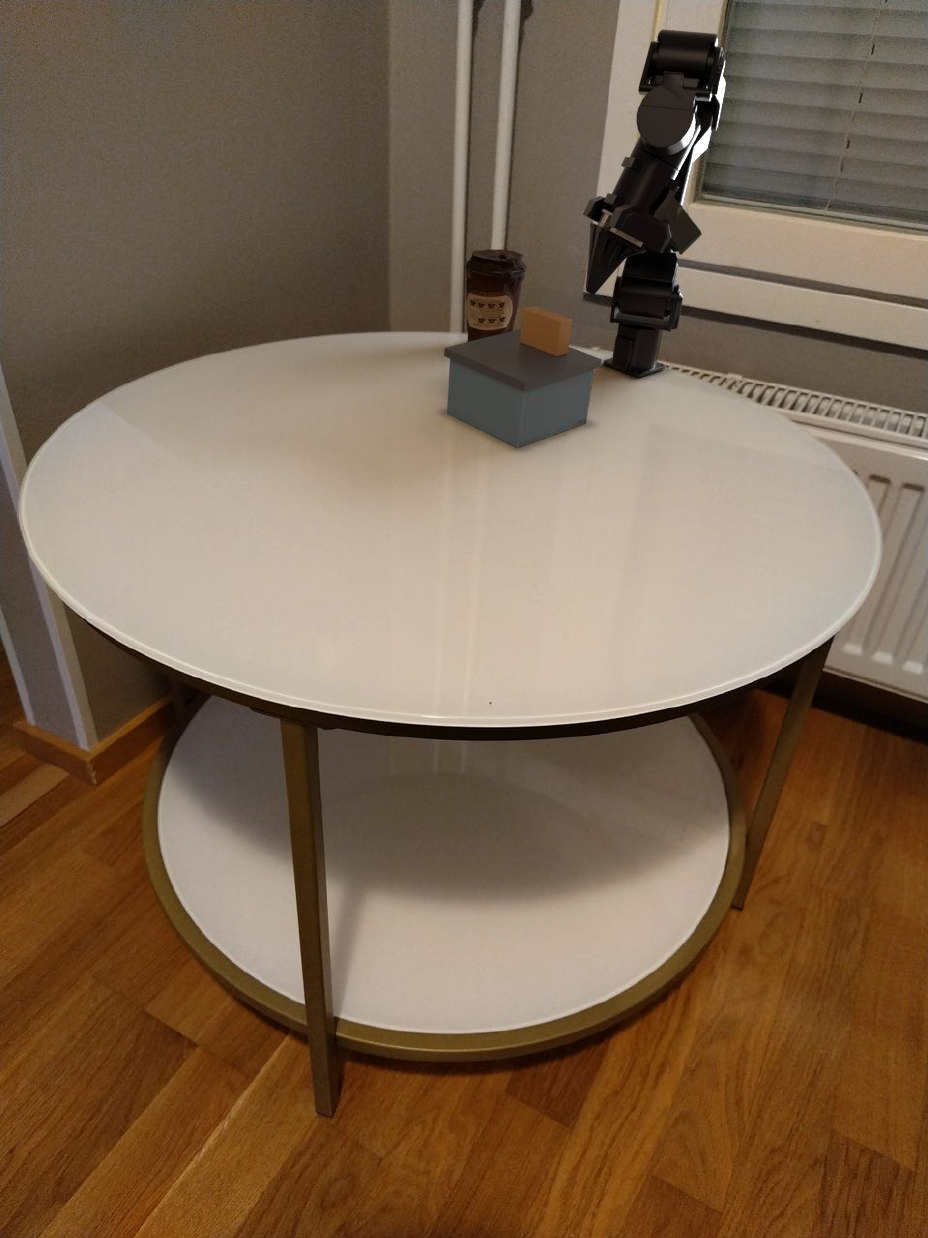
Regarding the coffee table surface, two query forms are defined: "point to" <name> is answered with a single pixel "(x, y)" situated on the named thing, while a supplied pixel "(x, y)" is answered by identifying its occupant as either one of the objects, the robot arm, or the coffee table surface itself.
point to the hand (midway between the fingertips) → (589, 292)
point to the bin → (517, 405)
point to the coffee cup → (493, 292)
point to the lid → (527, 352)
